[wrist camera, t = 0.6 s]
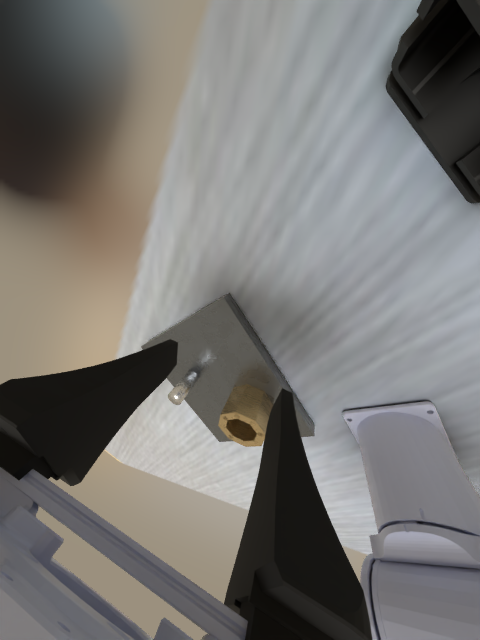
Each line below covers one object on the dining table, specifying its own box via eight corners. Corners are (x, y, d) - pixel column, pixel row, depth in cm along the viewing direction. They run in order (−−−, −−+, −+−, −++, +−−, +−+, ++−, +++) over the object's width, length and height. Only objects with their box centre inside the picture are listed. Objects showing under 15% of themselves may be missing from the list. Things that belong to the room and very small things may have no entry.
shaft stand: (314, 424, 24) (314, 473, 19) (223, 433, 32) (207, 468, 27) (229, 292, 19) (203, 314, 15) (148, 341, 27) (115, 364, 23)
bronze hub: (279, 412, 23) (273, 445, 19) (245, 417, 25) (235, 447, 22) (257, 381, 22) (247, 410, 18) (224, 389, 24) (210, 416, 21)
